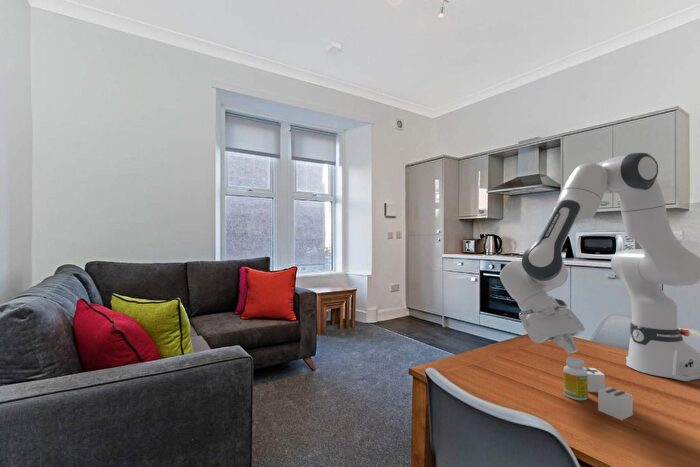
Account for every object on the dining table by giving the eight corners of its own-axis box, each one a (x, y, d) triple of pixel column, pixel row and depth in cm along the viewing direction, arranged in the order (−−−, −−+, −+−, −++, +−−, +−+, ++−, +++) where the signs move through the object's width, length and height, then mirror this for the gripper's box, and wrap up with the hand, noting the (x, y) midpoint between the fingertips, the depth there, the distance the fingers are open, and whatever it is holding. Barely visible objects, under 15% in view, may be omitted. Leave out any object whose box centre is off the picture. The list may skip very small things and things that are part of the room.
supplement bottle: (580, 402, 88) (580, 364, 88) (559, 394, 92) (558, 358, 93) (592, 398, 90) (591, 361, 90) (570, 390, 95) (570, 355, 95)
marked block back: (594, 385, 98) (594, 367, 98) (605, 393, 93) (604, 374, 93) (576, 384, 99) (575, 366, 99) (585, 391, 94) (585, 373, 94)
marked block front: (609, 406, 86) (609, 385, 86) (632, 415, 82) (632, 393, 82) (598, 410, 84) (598, 389, 84) (621, 420, 79) (621, 398, 79)
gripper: (523, 305, 94) (558, 351, 85) (567, 300, 103) (603, 341, 94) (509, 318, 98) (541, 363, 89) (553, 312, 107) (586, 352, 98)
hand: (573, 352), depth 92 cm, fingers closed
